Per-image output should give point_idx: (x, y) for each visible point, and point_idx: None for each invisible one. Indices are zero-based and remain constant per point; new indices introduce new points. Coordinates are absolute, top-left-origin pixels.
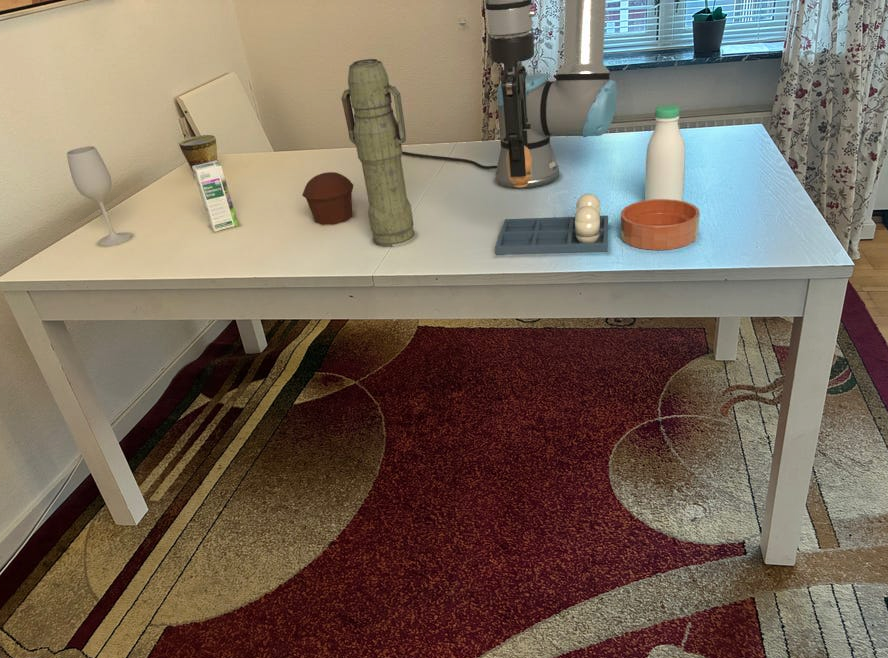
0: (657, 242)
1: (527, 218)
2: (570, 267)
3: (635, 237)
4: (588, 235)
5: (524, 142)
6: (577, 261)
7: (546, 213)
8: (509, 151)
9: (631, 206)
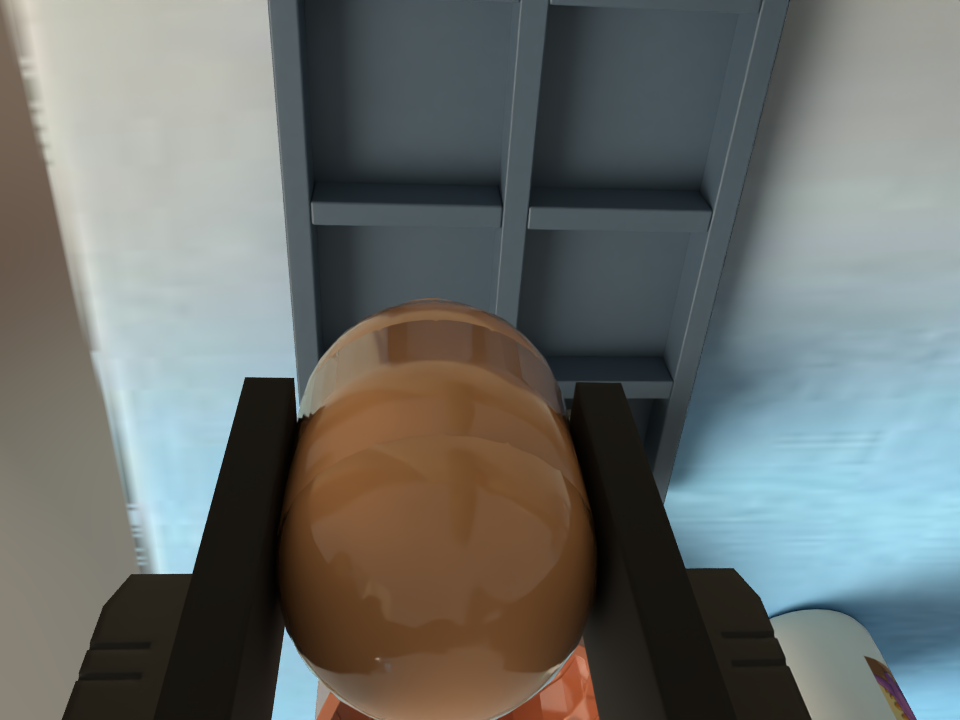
0: None
1: (748, 150)
2: (154, 368)
3: None
4: None
5: (607, 717)
6: (228, 393)
7: (918, 222)
8: (181, 626)
9: (584, 656)
